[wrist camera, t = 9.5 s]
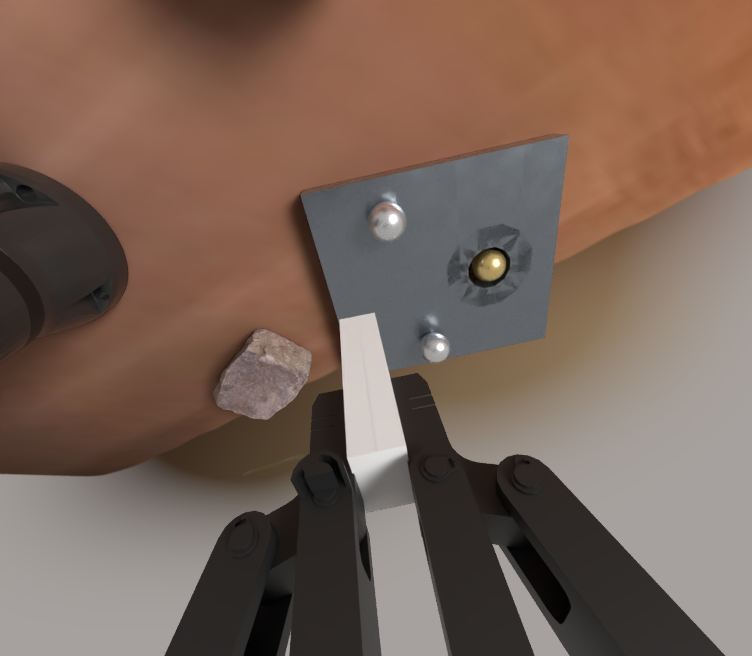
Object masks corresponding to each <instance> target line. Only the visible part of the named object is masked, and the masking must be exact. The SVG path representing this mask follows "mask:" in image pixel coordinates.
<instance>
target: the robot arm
mask: <svg viewBox="0 0 752 656" xmlns="http://www.w3.org/2000/svg"><path fill="white" fill-rule="evenodd" d="M127 281H128V266H127V261H126V257H125V254H124V251H123V248H122V246H121V244H120V242H119V240H118V238H117V237H116V235H115V233H114V232H113V230H112V229H111V227H110V226H109V225H108V223H107V222H106V221H105V220H104V219H103V217H102V216H101V215H100V214H99V213H98V212H97V211H96V210H95V209H94V208H93V207H92V206H91V205H90V204H89V203H87V202H86V201H85V200H84V199H83V198H81V197H80V196H79V195H78V194H76V193H75V192H73V191H72V190H70V189H69V188H67V187H66V186H64V185H63V184H61V183H59V182H57V181H56V180H54V179H52V178H50V177H48V176H46V175H43V174H41V173H39V172H36V171H33V170H31V169H28V168H24V167H21V166H17V165H13V164H8V163H0V364H1V363H3V362H4V361H5V360H7V359H8V358H9V357H11V356H12V355H14V354H15V353H16V352H18V351H19V350H20V349H22V348H23V347H24V346H26V345H27V344H29V343H30V342H31V341H33V340H34V339H38V338H41V337H44V336H47V335H51V334H54V333H57V332H60V331H64V330H67V329H70V328H74V327H77V326H80V325H83V324H86V323H89V322H91V321H93V320H95V319H97V318H98V317H100V316H101V315H103V314H104V313H105V312H106V311H108V310H109V309H110V308H111V307H112V306H114V305H115V304H116V303H117V302H118V301H119V300H120V298H121V297H122V295H123V293H124V291H125V289H126V286H127ZM339 322H340V340H341V358H342V376H343V389H342V390H337V391H332V392H327V393H323V394H319V395H318V397H317V399H316V400H315V402H314V404H313V406H312V422H311V440H310V454H308V455H307V456H306V457H304V458H303V459H302V460H301V461H300V462H299V463H298V465H297V466H296V467H295V469H294V470H293V473H292V477H291V482H292V483H293V485H294V487H295V489H296V491H297V493H298V495H297V496H296V497H295V498H294V499H293V500H292V501H290V502H289V503H287V504H286V505H284V506H282V507H280V508H279V509H277V510H275V511H273V512H271V513H270V514H268V515H265V514H264V513H261V512H257V511H251V512H245V513H243V514H241V515H240V516H238V517H236V518H235V519H234V520H232V521H231V522H230V523H229V524H228V525H227V526H226V527H225V529H224V530H223V532H222V533H221V535H220V537H219V538H218V540H217V543H216V545H215V547H214V549H213V551H212V554H211V556H210V558H209V560H208V562H207V564H206V566H205V569H204V571H203V573H202V575H201V578H200V580H199V582H198V584H197V586H196V588H195V591H194V593H193V595H192V597H191V599H190V601H189V604H188V606H187V608H186V610H185V612H184V614H183V617H182V619H181V621H180V623H179V625H178V627H177V630H176V632H175V634H174V636H173V638H172V641H171V643H170V645H169V647H168V649H167V651H166V654H165V656H285V652H286V648H287V644H288V639H289V636H290V632H291V642H290V655H289V656H381V648H380V638H379V627H378V617H377V608H376V599H375V588H374V578H373V568H372V558H371V548H370V538H369V533H368V529H367V526H366V521H365V511H366V513H368V512H373V511H377V510H382V509H387V508H392V507H397V506H401V505H406V504H411V503H415V505H416V509H417V513H418V519H419V524H420V530H421V536H422V538H423V543H424V547H425V552H426V556H427V561H428V565H429V570H430V574H431V578H432V583H433V588H434V592H435V597H436V602H437V606H438V610H439V615H440V620H441V624H442V629H443V633H444V638H445V642H446V647H447V651H448V656H534V653H533V650H532V648H531V645H530V642H529V640H528V637H527V635H526V632H525V630H524V627H523V624H522V621H521V619H520V617H519V614H518V611H517V608H516V606H515V603H514V600H513V598H512V595H511V593H510V590H509V587H508V585H507V582H506V579H505V577H504V574H503V572H502V569H501V566H500V564H499V561H498V558H497V556H496V553H495V551H494V548H493V545H492V544H496V545H499V546H500V548H501V549H502V551H503V552H504V554H505V556H506V557H507V559H508V560H509V562H510V563H511V565H512V567H513V568H514V570H515V571H516V573H517V574H518V576H519V577H520V579H521V581H522V582H523V584H524V585H525V587H526V588H527V590H528V591H529V593H530V595H531V596H532V598H533V599H534V601H535V602H536V604H537V606H538V607H539V609H540V610H541V612H542V613H543V615H544V616H545V618H546V620H547V621H548V623H549V624H550V626H551V627H552V629H553V630H554V632H555V634H556V635H557V637H558V638H559V640H560V641H561V643H562V645H563V646H564V648H565V649H566V651H567V652H568V654H569V655H570V656H725V655H724V654H723V653H722V652H721V651H720V650H719V649H718V648H717V646H716V645H715V644H713V642H712V641H711V640H710V639H709V638H708V637H707V636H706V635H705V634H704V633H703V632H702V631H701V629H700V628H699V627H698V626H697V625H696V624H695V623H694V622H693V621H692V620H691V619H690V618H689V617H688V616H687V615H686V613H685V612H684V611H683V610H682V609H681V608H680V607H679V606H678V605H677V604H676V603H675V602H674V601H673V600H672V599H671V598H670V597H669V595H667V593H666V592H665V591H664V590H663V589H662V588H661V587H660V586H659V585H658V584H657V583H656V582H655V580H654V579H653V578H652V577H651V576H650V575H649V574H648V573H647V572H646V571H645V570H644V569H643V568H642V567H641V566H640V565H639V564H638V563H637V561H636V560H635V559H634V558H633V557H632V556H631V555H630V554H629V553H628V552H627V551H626V550H625V549H624V547H623V546H622V545H621V544H620V543H619V542H618V541H617V540H616V539H615V538H614V537H613V536H612V535H611V534H610V533H609V532H608V531H607V529H606V528H605V527H604V526H603V525H602V524H601V523H600V522H599V521H598V520H597V519H596V518H595V517H594V516H593V514H591V512H590V511H589V510H588V509H587V508H586V507H585V506H584V505H583V504H582V503H581V502H580V501H579V500H578V499H577V497H576V496H575V495H574V494H573V493H572V492H571V491H570V490H569V489H568V488H567V487H566V486H565V485H564V484H563V483H562V481H561V480H560V479H559V478H558V477H557V476H556V475H555V474H554V473H553V472H552V471H551V470H550V469H549V468H548V467H547V466H546V465H544V464H543V463H542V462H540V460H538V459H535V458H533V457H530V456H528V455H518V454H517V455H513V456H509V457H507V458H505V459H504V460H503V461H501V462H500V464H499V465H495V464H486V463H478V462H473V461H470V460H468V459H465V458H463V457H462V456H460V455H459V454H458V453H457V452H456V451H455V450H454V449H453V448H452V446H451V444H450V442H449V440H448V437H447V435H446V432H445V429H444V426H443V424H442V421H441V418H440V416H439V413H438V410H437V408H436V406H435V402H434V400H433V397H432V395H431V391H430V389H429V386H428V384H427V382H426V381H425V380H424V379H423V378H422V377H421V376H420V375H419V374H418V373H415V374H411V375H406V376H401V377H396V378H391V379H390V375H389V371H388V367H387V362H386V358H385V354H384V350H383V346H382V341H381V337H380V333H379V329H378V324H377V320H376V316H375V313H370V314H365V315H360V316H355V317H350V318H345V319H340V320H339ZM364 508H365V509H364Z"/></svg>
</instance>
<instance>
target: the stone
mask: <svg viewBox="0 0 752 656" xmlns="http://www.w3.org/2000/svg"><path fill="white" fill-rule="evenodd" d="M311 358H312V354H311V353H310V351H308V350H306V349H305V348H303V347H301V346H297V345H296V344H294V343H293V342H292V341H288V340H287V339H286V338H284V337H280V336H279V335H278V334H276V333H274V332H272V331H268V330H265V329H256V330H254V332H253V334H252V335H251V336H250V337H249V338H248V340H247V341H246V343H245V345H244V346H243V347H242V349H241V350H240V351H239V352H238V353H237V354H236V355H235V356H234V358H233V360H231V362H230V364H229V366H228V367H227V368H225V369H224V370H223V371H222V372H221V376H220V380H219V383H218V384H217V385H216V388H215V389H214V392H213V395H214V398H215V401H216V404H217V405H218V406H219V407H221V408H222V409H225V410H232V411H233V412H234V413H237V414H243V415H246V416H248V417H251V418H253V419H269V418H270V417H271V416H272V415H273V414H274V413H276V412H277V411H278V410H280V409H281V408H283V407H285V406H286V405H287V404H288V403H289V402H291V401H292V400H293V399H294V398H295V397H296V395H297V394H298V392H299V390H300V389H301V388H302V387H303V385H304V384H305V382H306V381H307V379H308V375H309V369H310V366H311Z"/></svg>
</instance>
